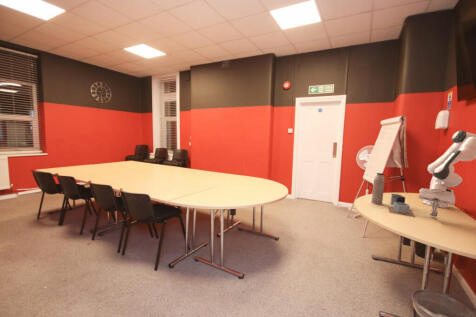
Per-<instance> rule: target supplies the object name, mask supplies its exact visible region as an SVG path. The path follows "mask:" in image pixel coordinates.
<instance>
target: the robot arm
mask: <svg viewBox="0 0 476 317" xmlns="http://www.w3.org/2000/svg"><path fill="white" fill-rule="evenodd" d="M451 141H452V142H453V144H451V146H449V148H447V150H446V151H445V152H444V153H443V154H442V155H441V156H440V157H438V158H437V159H436V160H435V161H433V162H432V163H430V164H428V166H427V171H428V173H429V174H432V177H431V180H430V183H429V184H430V185H429V188H424V187H423V188H420V189H419V194H418V199H420V200H422V202H421V204H424V205H427V206H431V207H433V202H434V198H439V199H438V205H437V208H442V209H444V208H445V209H446V208H450V205H451V206H454V205H455V204H456V195H455V194H454V190H453V189H450V188H456V187H459V186H460V185H462V183H463V177H461V176H460V175H459V174H458V173H455V167H454V165H455V164H457V163H459V162H460V161H461V162H471V161H474V160H476V134H475V133H472V132H468V131H466V130H462V129H461V130H458V131H456V132H455V133H453V135H452V137H451ZM435 206H436V201H435Z"/></svg>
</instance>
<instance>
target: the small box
mask: <svg viewBox="0 0 476 317" xmlns="http://www.w3.org/2000/svg"><path fill="white" fill-rule="evenodd" d="M390 198H391V199H390V205H392V207H394V202H401V203H405V202H406V196H403V195H401V194H398V193H397V194H396V193H391V197H390Z"/></svg>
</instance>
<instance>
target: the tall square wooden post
mask: <svg viewBox="0 0 476 317" xmlns="http://www.w3.org/2000/svg"><path fill="white" fill-rule="evenodd" d="M438 199H439V198H434V202H433V206H432V209H431V210H430V212H429V216H432V217H437V218H438V215H439V214H438V213H439V212H438V207H437V205H438ZM435 201H436V206H435Z"/></svg>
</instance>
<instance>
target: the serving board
mask: <svg viewBox="0 0 476 317" xmlns="http://www.w3.org/2000/svg"><path fill="white" fill-rule="evenodd" d="M393 207H394V206H389V205H387V209H388V212H389V214H395V215H398V216H399V215H400V216H404V217H410V218H416V216H415V214H414V212H413V210H412V209H409V213H407V214H404V213H398V212H396V211H394V210H393Z"/></svg>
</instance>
